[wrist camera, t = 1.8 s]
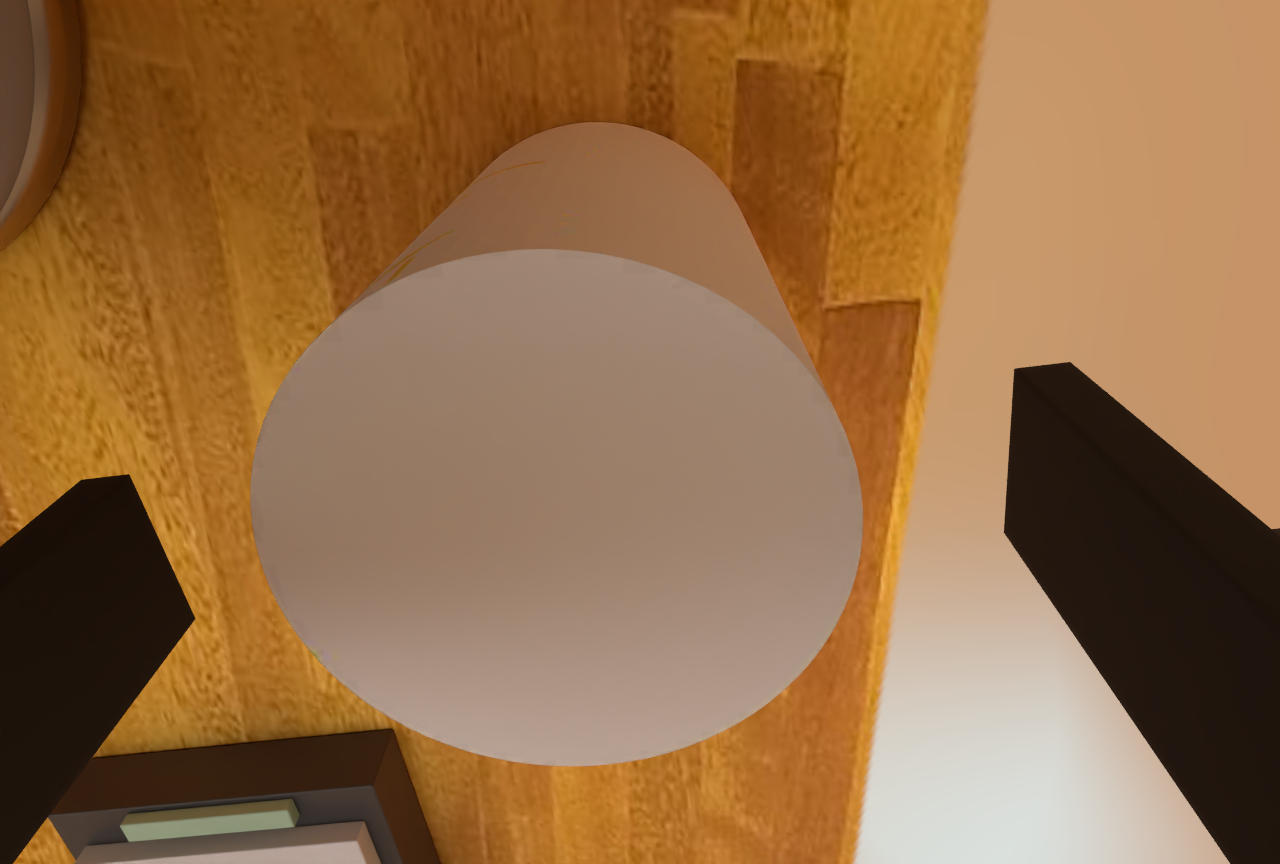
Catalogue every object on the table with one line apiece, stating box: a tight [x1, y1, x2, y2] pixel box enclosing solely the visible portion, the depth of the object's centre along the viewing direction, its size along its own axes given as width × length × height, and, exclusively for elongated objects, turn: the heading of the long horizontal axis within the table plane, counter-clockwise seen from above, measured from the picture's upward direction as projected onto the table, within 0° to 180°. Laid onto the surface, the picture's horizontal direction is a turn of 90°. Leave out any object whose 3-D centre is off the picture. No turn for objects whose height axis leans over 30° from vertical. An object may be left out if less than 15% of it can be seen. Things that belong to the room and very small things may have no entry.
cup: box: [251, 122, 863, 766], centre depth 17 cm, size 8×8×12 cm
